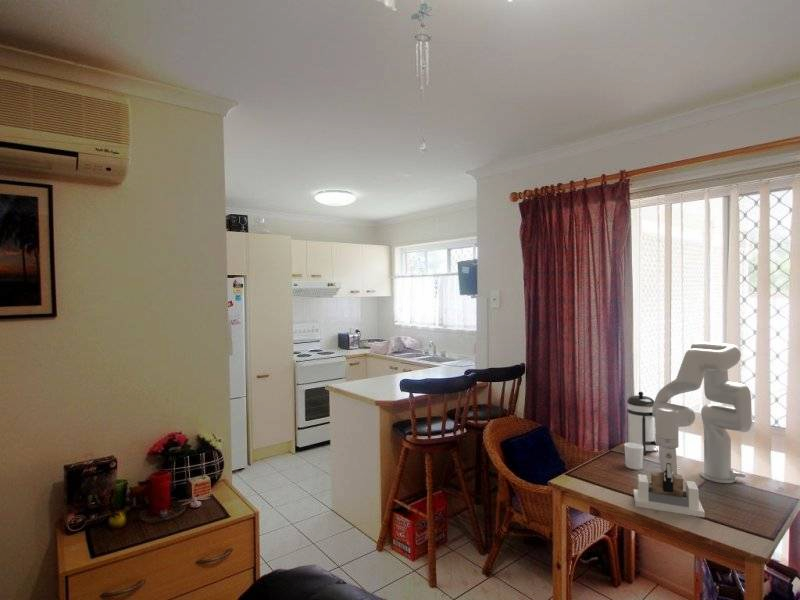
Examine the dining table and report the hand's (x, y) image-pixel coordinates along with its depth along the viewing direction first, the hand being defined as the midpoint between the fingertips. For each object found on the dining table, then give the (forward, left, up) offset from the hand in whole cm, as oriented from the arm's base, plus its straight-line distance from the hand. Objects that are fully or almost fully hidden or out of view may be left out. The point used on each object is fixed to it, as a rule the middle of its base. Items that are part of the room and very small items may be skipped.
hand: (667, 488), depth 169 cm
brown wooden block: (0, 0, -3) cm, 3 cm away
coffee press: (+3, -60, -7) cm, 60 cm away
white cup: (+9, -36, -7) cm, 38 cm away
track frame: (0, 0, -6) cm, 6 cm away
